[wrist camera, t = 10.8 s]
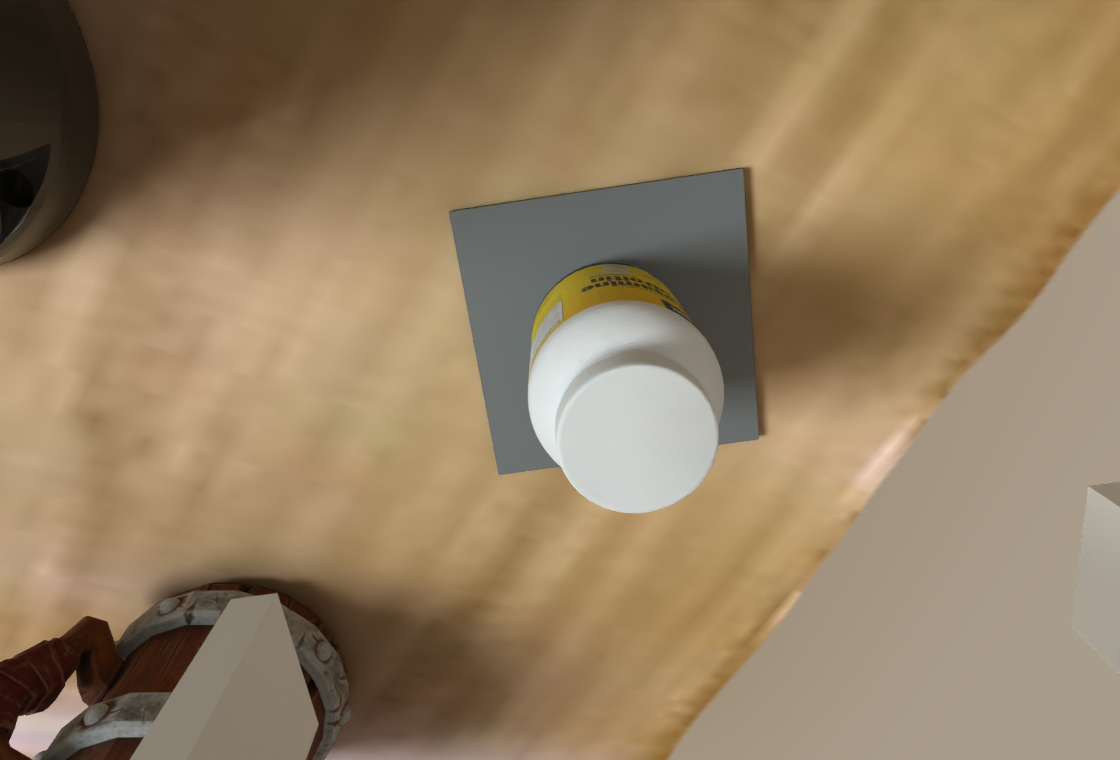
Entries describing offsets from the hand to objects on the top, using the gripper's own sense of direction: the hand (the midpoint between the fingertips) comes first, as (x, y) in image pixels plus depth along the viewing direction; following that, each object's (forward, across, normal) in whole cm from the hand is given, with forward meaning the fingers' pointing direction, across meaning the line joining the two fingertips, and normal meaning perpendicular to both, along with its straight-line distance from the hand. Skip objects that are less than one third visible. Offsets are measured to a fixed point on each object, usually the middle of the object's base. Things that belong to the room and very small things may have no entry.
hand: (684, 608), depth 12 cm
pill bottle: (+21, 0, -1) cm, 21 cm away
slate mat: (+21, +1, -1) cm, 21 cm away
